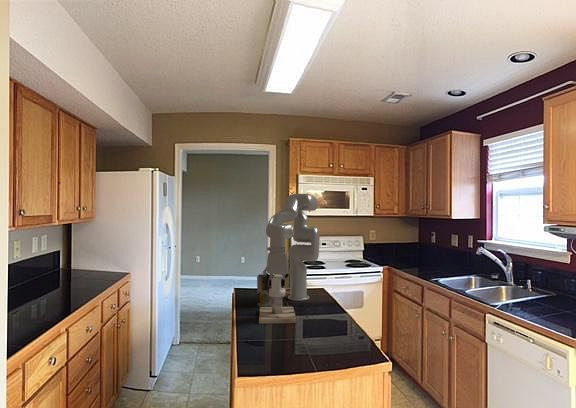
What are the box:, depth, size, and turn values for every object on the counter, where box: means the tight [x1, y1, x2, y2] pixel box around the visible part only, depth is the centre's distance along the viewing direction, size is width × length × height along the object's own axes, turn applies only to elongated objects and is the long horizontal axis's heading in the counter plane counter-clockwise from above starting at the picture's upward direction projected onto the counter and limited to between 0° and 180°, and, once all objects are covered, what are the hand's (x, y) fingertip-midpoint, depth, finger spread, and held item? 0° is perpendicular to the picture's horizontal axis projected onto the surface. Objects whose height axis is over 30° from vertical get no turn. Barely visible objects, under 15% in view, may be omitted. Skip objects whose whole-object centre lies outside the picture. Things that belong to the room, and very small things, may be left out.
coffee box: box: [256, 273, 275, 307], centre depth 191 cm, size 9×6×16 cm
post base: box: [258, 297, 297, 325], centre depth 170 cm, size 20×17×10 cm
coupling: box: [269, 274, 291, 298], centre depth 170 cm, size 10×11×9 cm
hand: (277, 287), depth 170 cm, fingers closed on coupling, 4 cm apart
